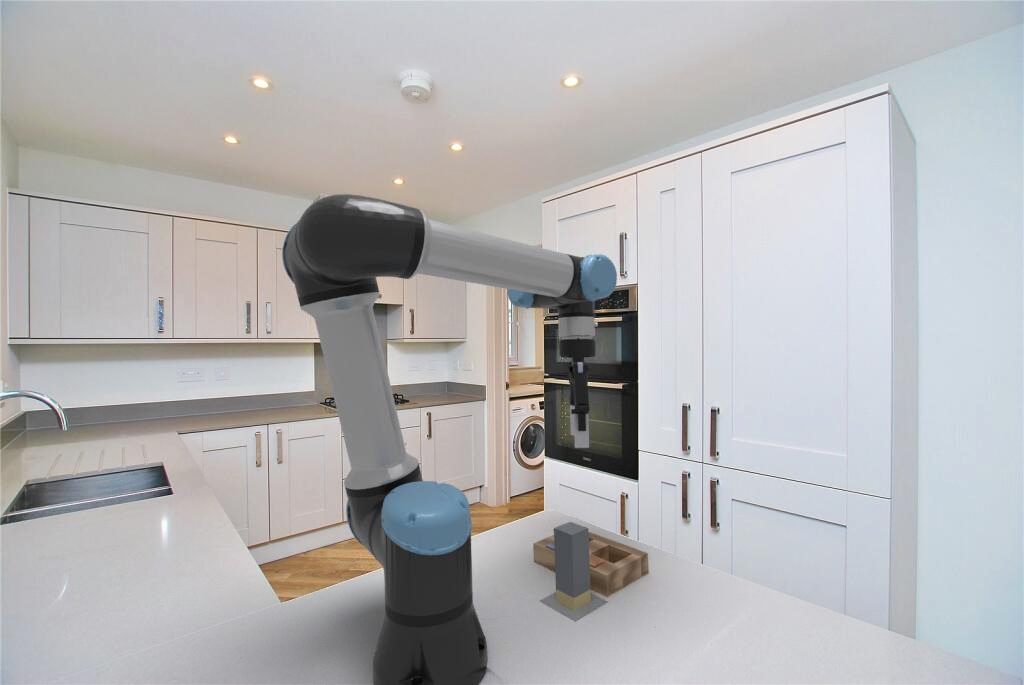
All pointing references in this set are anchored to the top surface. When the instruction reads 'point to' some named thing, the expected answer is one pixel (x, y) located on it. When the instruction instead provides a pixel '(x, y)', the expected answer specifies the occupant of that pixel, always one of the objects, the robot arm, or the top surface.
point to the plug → (572, 565)
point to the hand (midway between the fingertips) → (579, 441)
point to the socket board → (608, 572)
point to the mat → (572, 614)
